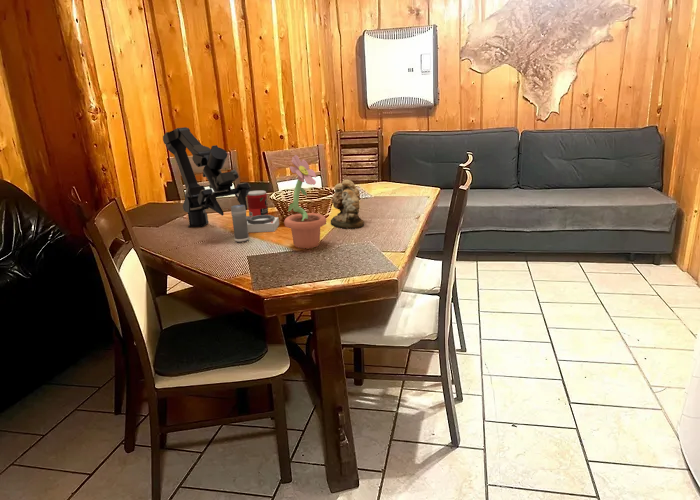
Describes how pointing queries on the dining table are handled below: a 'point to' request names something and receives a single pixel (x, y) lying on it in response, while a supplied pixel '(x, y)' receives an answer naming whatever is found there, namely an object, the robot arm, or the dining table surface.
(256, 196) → the canned food
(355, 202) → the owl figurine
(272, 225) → the square flange plate
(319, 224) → the decorative flower
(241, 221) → the gray tumbler
